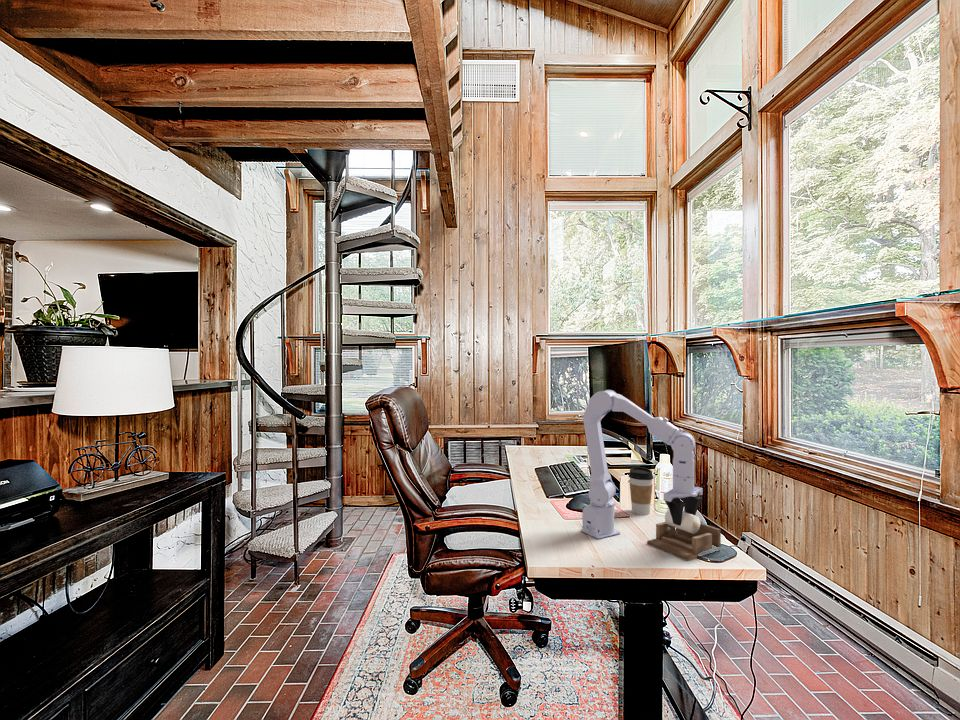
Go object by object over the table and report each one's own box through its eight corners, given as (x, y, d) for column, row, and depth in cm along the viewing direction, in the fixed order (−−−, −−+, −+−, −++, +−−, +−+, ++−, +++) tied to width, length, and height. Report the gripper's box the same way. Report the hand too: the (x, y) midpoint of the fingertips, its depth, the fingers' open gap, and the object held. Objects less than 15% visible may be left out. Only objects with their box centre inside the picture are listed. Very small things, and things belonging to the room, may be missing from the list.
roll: (687, 532, 131) (691, 514, 132) (662, 523, 138) (666, 506, 139) (698, 535, 133) (702, 517, 134) (673, 526, 140) (677, 509, 141)
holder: (687, 560, 126) (688, 538, 126) (647, 543, 138) (647, 522, 138) (720, 550, 133) (720, 529, 133) (679, 535, 145) (679, 515, 145)
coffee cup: (649, 508, 171) (650, 467, 171) (656, 516, 162) (656, 472, 162) (626, 507, 172) (626, 466, 172) (631, 515, 163) (631, 472, 163)
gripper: (678, 481, 129) (678, 531, 129) (712, 475, 136) (712, 522, 136) (657, 476, 135) (657, 523, 135) (690, 470, 142) (690, 515, 142)
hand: (683, 522), depth 136 cm, fingers closed on roll, 5 cm apart
